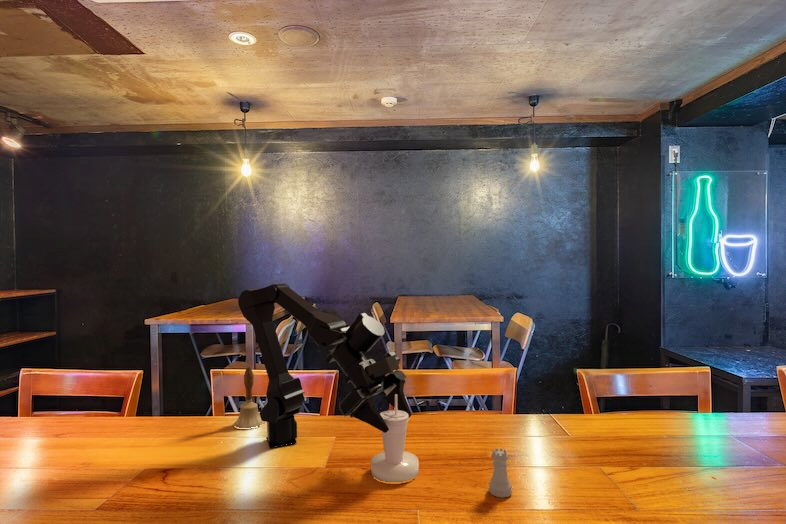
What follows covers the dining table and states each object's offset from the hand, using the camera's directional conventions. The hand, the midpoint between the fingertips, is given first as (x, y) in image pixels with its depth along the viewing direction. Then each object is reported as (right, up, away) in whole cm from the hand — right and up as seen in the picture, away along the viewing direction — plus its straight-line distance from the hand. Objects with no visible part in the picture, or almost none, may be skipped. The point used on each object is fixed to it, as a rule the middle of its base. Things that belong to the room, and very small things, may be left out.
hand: (399, 423), depth 94 cm
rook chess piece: (+19, -10, -8) cm, 23 cm away
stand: (-1, -11, +1) cm, 11 cm away
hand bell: (-41, -11, +30) cm, 52 cm away
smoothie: (-1, -8, +1) cm, 8 cm away
